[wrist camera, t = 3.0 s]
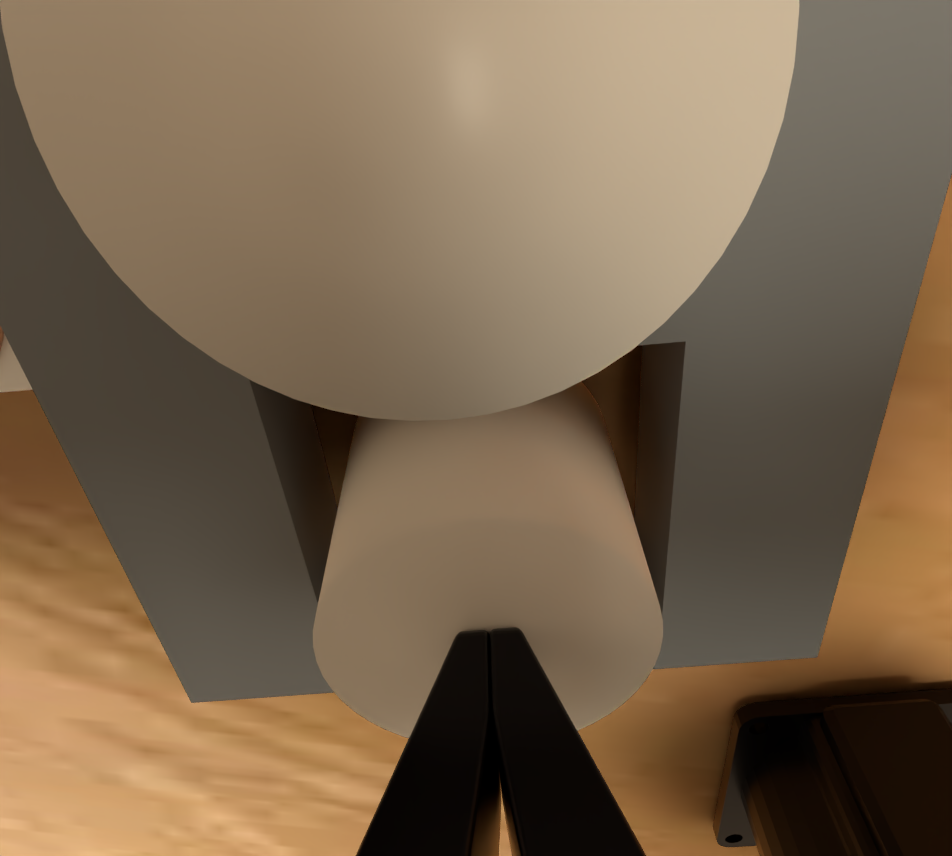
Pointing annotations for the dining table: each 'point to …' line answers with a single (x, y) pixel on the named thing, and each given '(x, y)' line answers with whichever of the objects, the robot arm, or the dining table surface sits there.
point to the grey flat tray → (661, 393)
